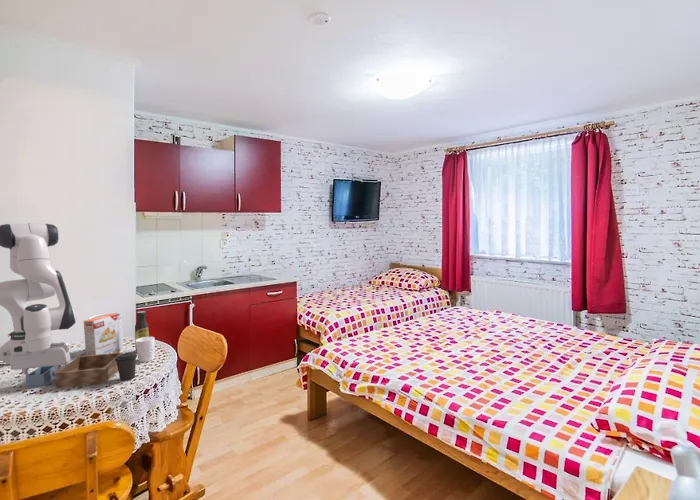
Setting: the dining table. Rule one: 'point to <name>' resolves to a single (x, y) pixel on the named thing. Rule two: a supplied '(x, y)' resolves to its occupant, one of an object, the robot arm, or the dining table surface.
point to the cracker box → (102, 335)
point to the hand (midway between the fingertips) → (42, 376)
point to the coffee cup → (126, 366)
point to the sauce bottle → (141, 326)
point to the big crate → (87, 370)
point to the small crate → (40, 376)
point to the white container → (118, 326)
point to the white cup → (145, 349)
